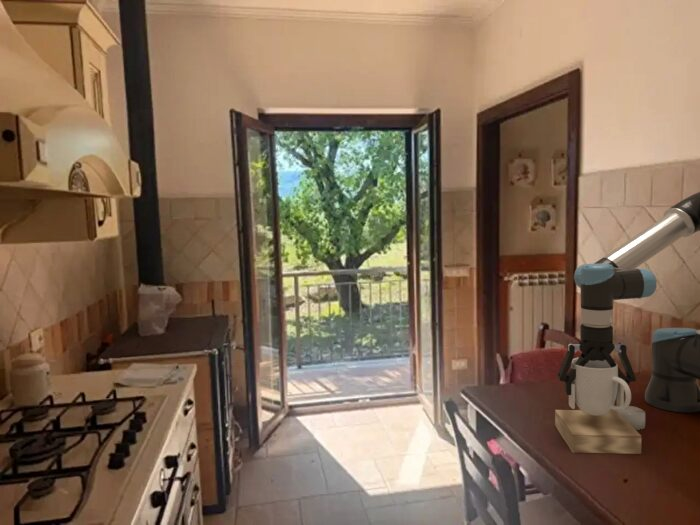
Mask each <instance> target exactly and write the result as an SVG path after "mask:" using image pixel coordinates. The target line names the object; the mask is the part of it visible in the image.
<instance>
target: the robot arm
mask: <svg viewBox="0 0 700 525" xmlns="http://www.w3.org/2000/svg"><path fill="white" fill-rule="evenodd" d="M697 232H700V191H698V192H696V193H693V194H691V195H689V196H687V197H686V198H684V199H682V200H680V201H679V202H677V203H675V204H674V205H672V206H671V207H669V208H668V209H667V210H666V211H664V214H663V216H662V217H661V218H660V219H658V220H656V221H655V222H653V223H652V224H650V225H649V226H647V227H646V228H645V229H643V230H642V231H640V232H639V233H637V234H636V235H635V236H633V237H632V238H630V239H628V240H626V241H625V242H624V243H622V244H621V245H619V246H618V247H617V248H615V249H614V250H612V251H610V252H609V253H607V254H606V255H605V256H603V257H601V258H600V259H598V260H597V261H595V262H594V263H583V264H581V265H579V266H578V267H577V268H576V269H575V271H574V275H573V280H574V284H575V285H576V286H577V287H578V288H579V289H580V322H581V324H580V326H579V327H580V332H579V333H580V334H579V335H580V340H579V343H578V344H577V343H576V344H573V343H571V342H568V343H567V344H566V353H565V356H564V359H563V361H562V363H561V366H560V368H559V371H558V373H557V378H558V380H559V381H560V382H564V392H565V394H566V395H567V396H568V406H569V407H570V409H571V410H576V409H575V408H576V406H575V405H576V401H575V384H574V383H573V380H574V379H575V377H576V369H572V368H571V363H572V360H573V359H575V354H576V353H577V352H578V350H580V351H581V353H580V354H579V356H578V358H579V359H578V360H577V361H576V363H575V364H576V365H578V366H582V367H584V365H585V364H586V363H588V361H589V360H591V361H596V360H599V361H604V360H606V361H607V362H608V364H609V365H610V366H611V368H612V367H615V366H616V365H617V364H618V363H617V362H616V361H615V360H614V359H613V356H612V355H611V354H612V352H614V350H615V352H617V353H618V356H619V359H620V362H621V364H622V367H623V369H624V373H625V374H626V375H625V374H624V373H623V371H622V370H621V369H620V367H619V366H618V377H619V378H621V379H623V380H624V381H625V382H626V383H627V384H628V386H629V385H630V383H632V382H636V381H637V378H636V374H635V372H634V370H633V368H632V365H631V362H630V360H629V357H628V355H627V345H625V344H624V343H622V342H618V343H614V342H613V341H614V328H613V324H614V301H619V300H634V299H642V298H648V297H651V296H652V295H654V293H655V291H656V290H657V288H658V287H657V283H658V282H657V278H656V276H655V274H654V272H653V271H651V270H649V269H646V268H638V267H640V266H642V265H643V264H644V263H645V262H647V261H649V260H650V259H652V258H653V257H654V256H656V255H657V254H659V253H660V252H662V251H663V250H665V249H666V248H668V247H669V246H670V245H672V244H674V243H675V242H676V241H678V240H679V239H681V238H682V237H683V238H687V237H690V236H692V235H693V234H695V233H697ZM615 362H616V363H617V364H616V363H615ZM698 380H700V329H696V328H692V327H663V328H657V329H656V330H654V331H653V334H652V341H651V377H650V380H649V381H648V385H647V387H646V389H645V392H644V401H645V402H646V403H647V404H648V405H650V406H652V407H654V408H658V409H660V410H663V411H669V412H676V413H687V414H689V413H698V412H700V385H699V382H698ZM625 397H626V396H625V391H624V389H623V387H622V385H621V384H620V383H618V390H617V395H616V406H622V405H623V404H624V402H625Z"/></svg>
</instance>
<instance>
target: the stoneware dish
mask: <svg viewBox="0 0 700 525" xmlns="http://www.w3.org/2000/svg"><path fill="white" fill-rule="evenodd" d="M611 411H617V412H618V413H619V414H620V415H621V416H622V417H623V418H624V419H625V420H626V421H627V422H628V423H629V424H630V425H631V426H632V427H633V428H634V429H635V430H636V431H641V430H643V429H645V428H646V411H645V410H643V409H642V408H639V407H637V406H632V405H628V407H626V408H625V409H621V410H612V409H611ZM640 429H641V430H640Z"/></svg>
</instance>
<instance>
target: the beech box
mask: <svg viewBox="0 0 700 525" xmlns="http://www.w3.org/2000/svg"><path fill="white" fill-rule="evenodd" d="M554 415H555V416H554V421H555V422H554V426H555V428H556V429H557V431H558V433H559V434H560V435H561V437H562V439H563V440H564V441H565V443H566V445H567V446H568V448H569V450H570V451H571V453H577V454H579V453H580V454H581V453H587V454H588V453H589V454H596V453H597V454H623V455H624V454H625V455H626V454H629V455H642V435H641V434H640V433H639V432H638V430H635V429H634V428H633V427H632V426H631V425H630V424H629V423H628V422H627V421H626V420H625V419H624V418H623V417H622V416H621V415H620V414H619V413H618V412H617V411H612V410H610V412H609V413H608V414H606V415H602V416H595V415H589V414H586V413H584V412H582V411H581V410H580V409H554Z"/></svg>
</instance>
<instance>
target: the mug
mask: <svg viewBox="0 0 700 525" xmlns="http://www.w3.org/2000/svg"><path fill="white" fill-rule="evenodd" d="M578 359H579V357H574V358H573V360H572V363H571V365H570V369H571V368H572V369H576V377H575V379H574V380H573V383H574V384H575V405H577V407H578V410H581V411H582V412H584V413H586V414H589V415H595V416H602V415H606V414H608V413H609V412H610V411H612V410H621V409H625V408H626V407H628V406H630V404H631V401H632V391H631V389H630V386H629V385H628V384H627V383H626V382H625V381H624V380H623V379H621V378H619V377H618V367H619V366H618V362H616V361H614V362H615V363H616V364H617V365H616V366H615V367H612V368H611V366H610V365H609V364H608V362H607V361H606V360H604V361H599V360H596V361H591V360H589V361H588V363H586V364H585V365H584V367H582V366H578V365H576V364H575V363H576V361H577V360H578ZM618 383H620V384H621V385H622V387H623V389H624V391H625V396H624V397H625V398H624V404H623V405H622V406H617V405H615V403H616V401H617V390H618Z"/></svg>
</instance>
